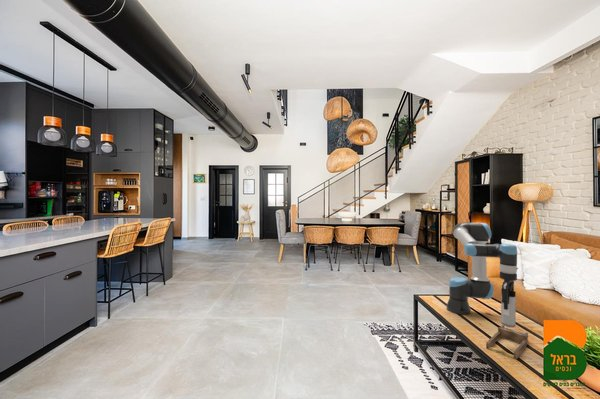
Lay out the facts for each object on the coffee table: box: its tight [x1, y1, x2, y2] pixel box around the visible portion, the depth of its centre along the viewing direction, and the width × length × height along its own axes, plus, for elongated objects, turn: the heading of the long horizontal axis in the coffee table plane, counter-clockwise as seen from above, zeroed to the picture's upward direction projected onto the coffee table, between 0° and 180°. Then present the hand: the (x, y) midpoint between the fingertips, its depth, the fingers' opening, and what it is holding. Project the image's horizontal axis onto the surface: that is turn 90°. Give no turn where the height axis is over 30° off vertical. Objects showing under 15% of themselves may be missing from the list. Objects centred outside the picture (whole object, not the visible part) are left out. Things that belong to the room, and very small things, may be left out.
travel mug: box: [500, 288, 517, 328], centre depth 145 cm, size 6×7×20 cm
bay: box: [485, 324, 529, 360], centre depth 144 cm, size 13×27×5 cm, turn 128°
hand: (508, 313), depth 145 cm, fingers closed on travel mug, 6 cm apart
